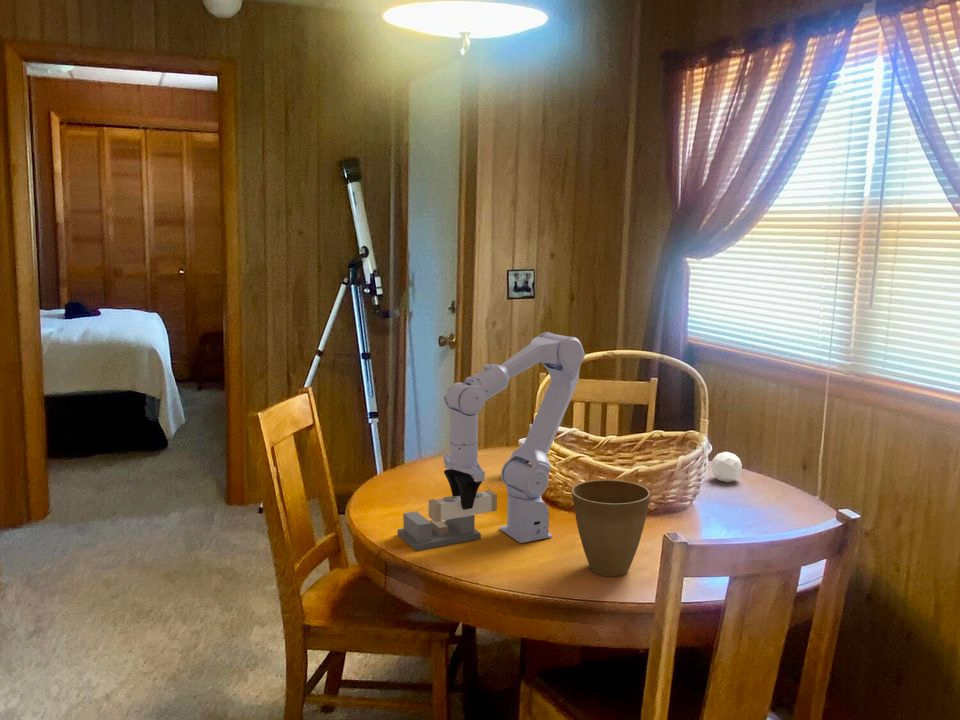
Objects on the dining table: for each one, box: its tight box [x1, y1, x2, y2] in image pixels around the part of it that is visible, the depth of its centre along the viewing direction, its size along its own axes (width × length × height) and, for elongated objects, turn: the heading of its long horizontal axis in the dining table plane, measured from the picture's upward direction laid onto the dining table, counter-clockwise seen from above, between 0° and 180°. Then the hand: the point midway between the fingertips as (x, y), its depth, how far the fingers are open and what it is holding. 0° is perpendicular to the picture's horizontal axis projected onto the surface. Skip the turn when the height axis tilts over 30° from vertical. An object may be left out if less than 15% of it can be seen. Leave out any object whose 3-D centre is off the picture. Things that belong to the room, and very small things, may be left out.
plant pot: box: [571, 479, 651, 577], centre depth 166 cm, size 15×15×16 cm
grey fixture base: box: [396, 510, 482, 551], centre depth 182 cm, size 15×10×5 cm, turn 118°
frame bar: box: [428, 489, 498, 522], centre depth 176 cm, size 3×14×4 cm, turn 119°
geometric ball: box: [710, 451, 743, 483], centre depth 222 cm, size 8×8×8 cm
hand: (463, 505), depth 176 cm, fingers closed on frame bar, 3 cm apart
